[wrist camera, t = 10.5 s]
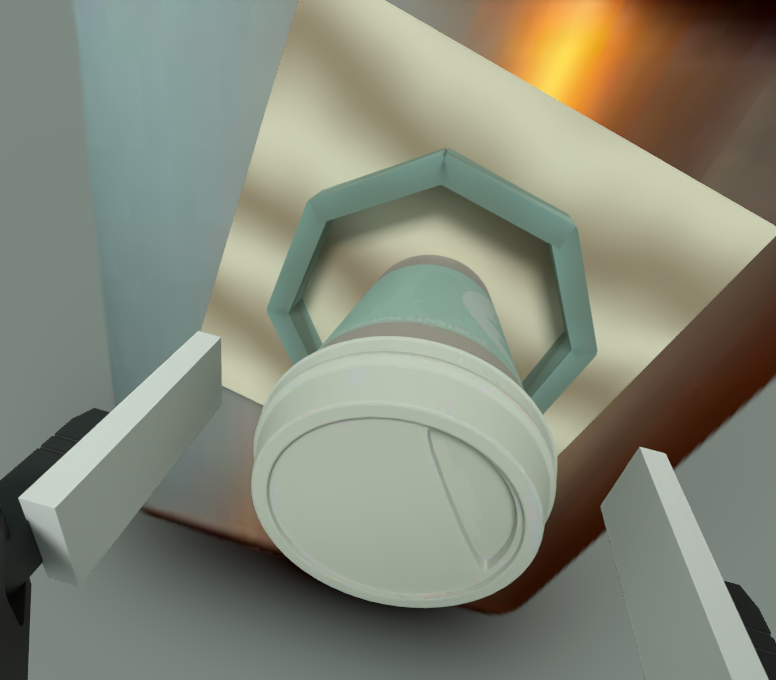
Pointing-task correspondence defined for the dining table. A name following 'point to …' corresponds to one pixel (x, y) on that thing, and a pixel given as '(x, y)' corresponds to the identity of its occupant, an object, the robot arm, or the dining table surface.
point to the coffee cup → (408, 447)
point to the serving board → (461, 213)
